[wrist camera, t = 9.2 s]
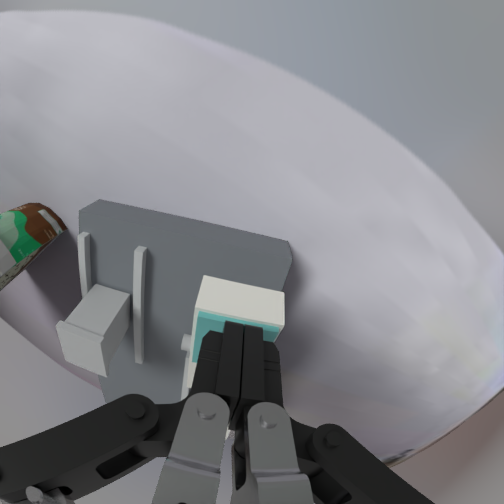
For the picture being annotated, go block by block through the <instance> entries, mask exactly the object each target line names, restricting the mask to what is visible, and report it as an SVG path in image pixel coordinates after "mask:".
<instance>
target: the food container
mask: <svg viewBox="0 0 504 504" xmlns="http://www.w3.org/2000/svg"><path fill="white" fill-rule="evenodd" d="M65 230H67V227H66V226H65V224H64V223H63V221H62V220H61V218H59V217H58V216H57V215H56V214H55V213H54V212H53V211H52V210H51V209H50V208H48V207H46V206H44V205H42V204H40V203H28V204H25V205H22V206H20V207H17V208H14V209H12V210H9V211H7V212H4V213H2V214H0V291H1V290H2V289H3V288H4V287H5V286H6V285H7V284H8V283H10V282H11V281H12V280H13V279H14V278H15V277H16V276H18V275H19V274H20V273H21V272H22V271H23V270H25V269H26V268H27V267H28V266H29V265H30V264H31V263H32V262H33V261H34V260H35V259H36V258H37V257H38V256H39V255H40V254H41V253H42V252H43V251H44V250H45V249H46V248H47V247H48V246H49V245H50V244H51V243H52V242H53V241H54V240H55V239H57V238H58V237H59V236H60V235H61V234H62V233H63V232H64V231H65Z"/></svg>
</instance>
